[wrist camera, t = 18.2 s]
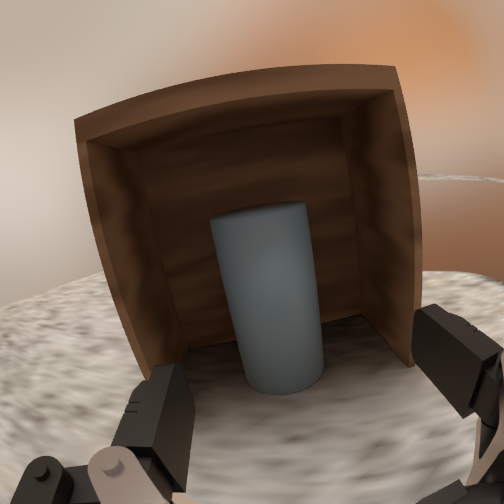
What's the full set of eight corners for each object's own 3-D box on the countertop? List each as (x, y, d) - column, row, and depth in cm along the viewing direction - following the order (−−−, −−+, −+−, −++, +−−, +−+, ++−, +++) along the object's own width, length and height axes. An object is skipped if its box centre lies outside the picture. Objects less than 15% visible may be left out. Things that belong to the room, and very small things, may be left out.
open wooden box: (415, 364, 17) (394, 66, 13) (164, 418, 17) (74, 119, 12) (364, 309, 27) (339, 102, 22) (183, 345, 27) (132, 139, 22)
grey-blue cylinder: (301, 403, 17) (273, 217, 14) (230, 381, 21) (189, 224, 18) (335, 352, 22) (320, 198, 19) (272, 341, 25) (247, 205, 22)
